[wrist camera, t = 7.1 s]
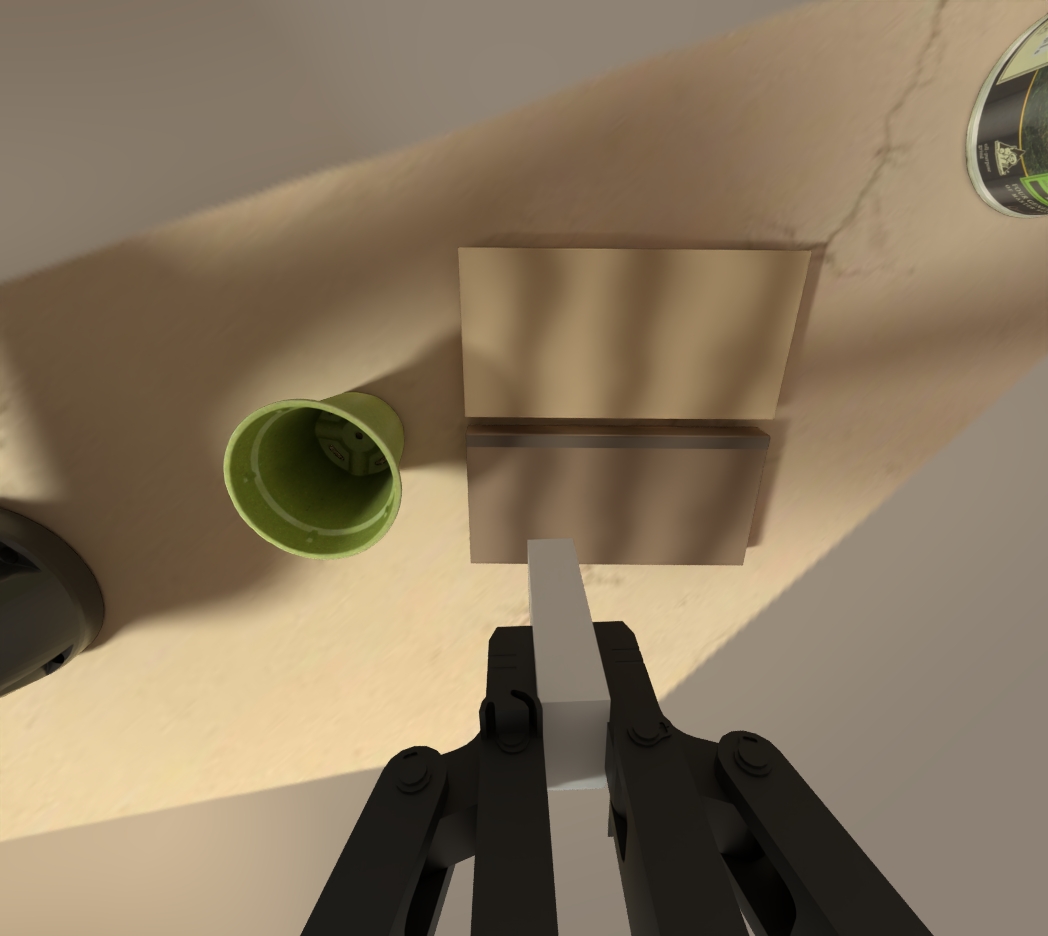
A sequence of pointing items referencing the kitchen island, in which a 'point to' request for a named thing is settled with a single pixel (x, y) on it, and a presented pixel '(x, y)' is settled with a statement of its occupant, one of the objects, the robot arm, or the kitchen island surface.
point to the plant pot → (317, 473)
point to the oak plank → (627, 331)
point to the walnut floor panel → (614, 492)
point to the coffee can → (1013, 129)
